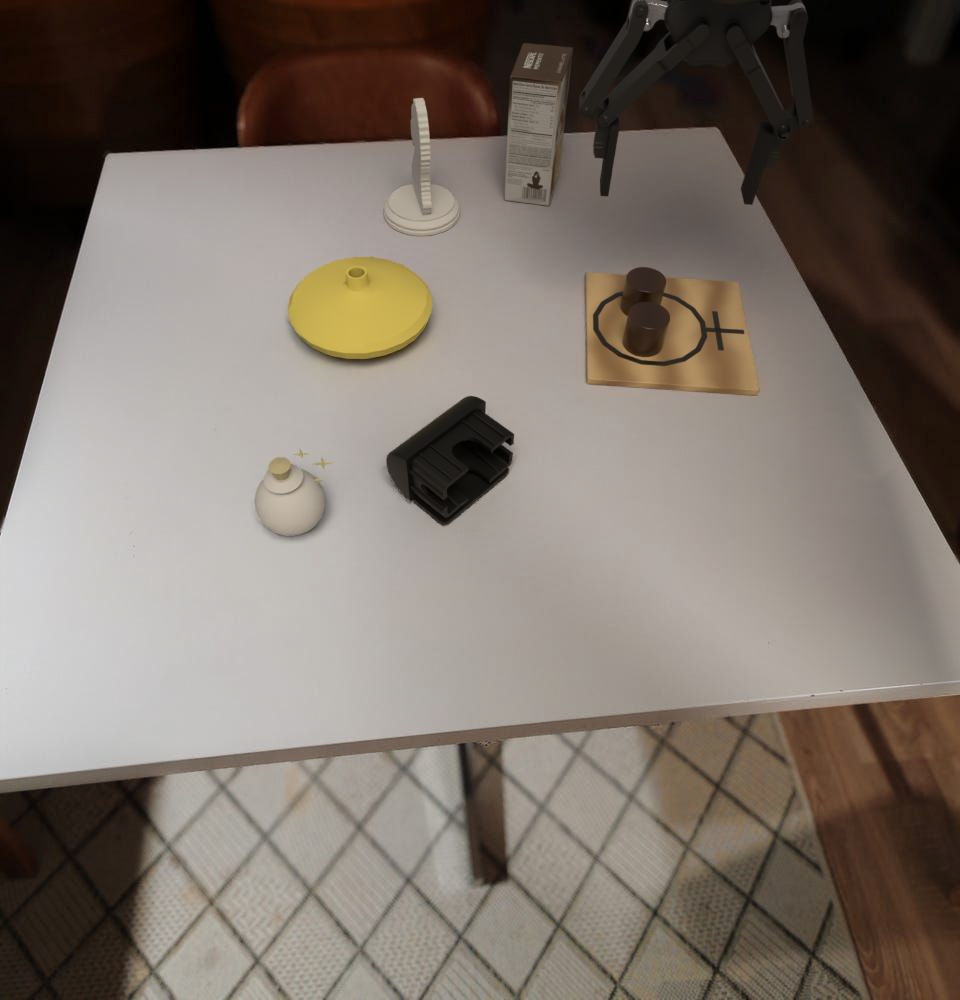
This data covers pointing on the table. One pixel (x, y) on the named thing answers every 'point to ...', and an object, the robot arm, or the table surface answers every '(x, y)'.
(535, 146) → the coffee box
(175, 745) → the table surface
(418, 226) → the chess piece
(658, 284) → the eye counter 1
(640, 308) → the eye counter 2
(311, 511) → the ornament
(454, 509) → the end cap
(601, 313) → the drawing board
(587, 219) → the table surface
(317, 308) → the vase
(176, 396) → the table surface
